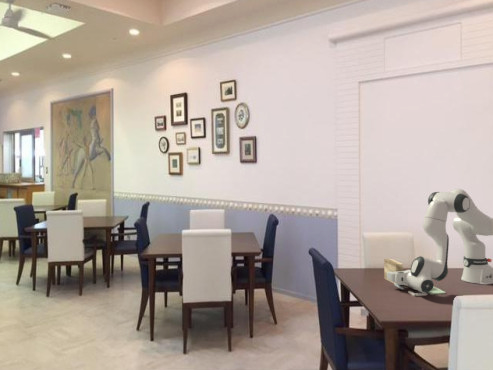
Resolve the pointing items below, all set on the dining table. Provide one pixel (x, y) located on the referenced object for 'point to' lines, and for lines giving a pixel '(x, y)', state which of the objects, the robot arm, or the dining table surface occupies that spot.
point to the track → (401, 286)
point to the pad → (436, 291)
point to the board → (391, 267)
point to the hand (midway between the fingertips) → (398, 271)
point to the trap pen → (417, 293)
